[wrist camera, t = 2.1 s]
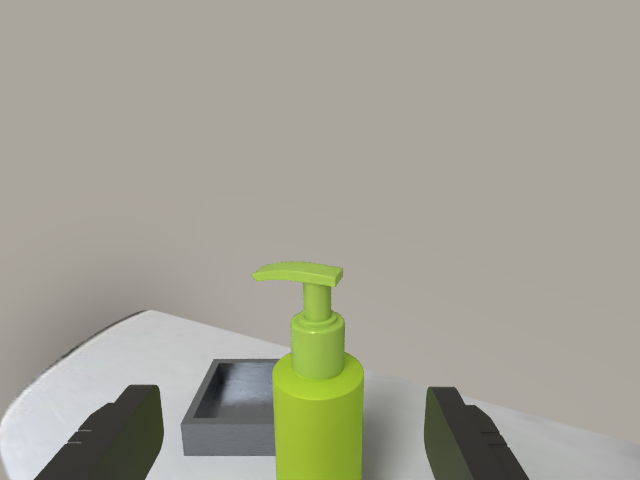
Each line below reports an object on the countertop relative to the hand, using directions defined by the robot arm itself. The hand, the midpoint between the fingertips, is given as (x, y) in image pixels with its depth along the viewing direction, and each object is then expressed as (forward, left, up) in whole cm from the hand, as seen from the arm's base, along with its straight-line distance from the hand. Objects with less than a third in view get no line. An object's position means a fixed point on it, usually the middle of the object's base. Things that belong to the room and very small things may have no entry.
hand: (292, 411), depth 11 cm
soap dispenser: (0, -12, -20) cm, 23 cm away
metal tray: (+6, -24, -19) cm, 32 cm away
